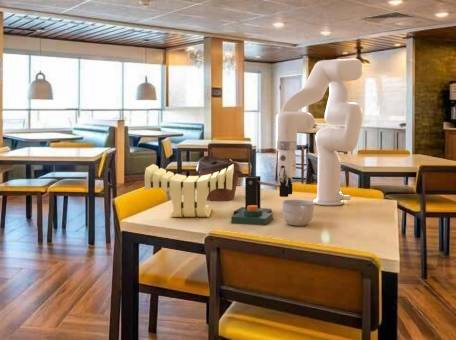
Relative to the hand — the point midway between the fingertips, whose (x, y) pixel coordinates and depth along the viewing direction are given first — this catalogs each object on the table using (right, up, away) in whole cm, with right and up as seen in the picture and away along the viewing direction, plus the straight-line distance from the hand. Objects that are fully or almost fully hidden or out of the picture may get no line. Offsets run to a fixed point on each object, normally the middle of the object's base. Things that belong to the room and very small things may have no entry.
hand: (285, 194), depth 198 cm
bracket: (-13, -7, +3) cm, 15 cm away
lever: (-6, +3, +1) cm, 7 cm away
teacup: (+5, -10, -15) cm, 19 cm away
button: (-11, -5, -10) cm, 16 cm away
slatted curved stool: (-35, -7, 0) cm, 35 cm away
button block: (-11, -9, -10) cm, 17 cm away
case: (-30, -3, +33) cm, 45 cm away
